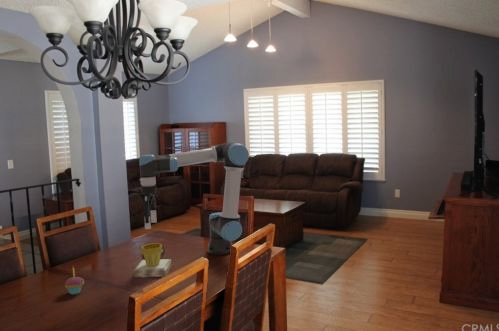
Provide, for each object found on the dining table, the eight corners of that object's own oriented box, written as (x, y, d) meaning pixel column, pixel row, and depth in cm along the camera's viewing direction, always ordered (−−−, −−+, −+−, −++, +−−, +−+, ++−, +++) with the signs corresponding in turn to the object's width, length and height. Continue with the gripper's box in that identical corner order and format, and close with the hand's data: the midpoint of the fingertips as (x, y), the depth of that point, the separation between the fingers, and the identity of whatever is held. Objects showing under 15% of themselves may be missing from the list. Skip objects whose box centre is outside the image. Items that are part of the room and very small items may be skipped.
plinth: (171, 265, 235) (171, 258, 234) (165, 276, 219) (165, 268, 219) (142, 266, 235) (141, 259, 235) (134, 277, 219) (133, 269, 219)
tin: (144, 264, 238) (143, 249, 237) (141, 263, 240) (140, 248, 239) (165, 257, 250) (164, 242, 249) (161, 256, 252) (161, 242, 251)
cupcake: (65, 290, 205) (63, 266, 203) (84, 287, 208) (82, 263, 207) (65, 297, 197) (63, 271, 195) (85, 293, 200) (83, 268, 199)
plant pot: (138, 266, 223) (137, 248, 222) (150, 260, 233) (149, 242, 231) (155, 268, 219) (154, 249, 218) (166, 262, 229) (165, 244, 228)
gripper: (146, 181, 234) (149, 220, 237) (134, 189, 210) (137, 232, 212) (160, 181, 234) (163, 219, 237) (150, 188, 209) (152, 231, 212)
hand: (151, 225), depth 224 cm, fingers open, 13 cm apart
